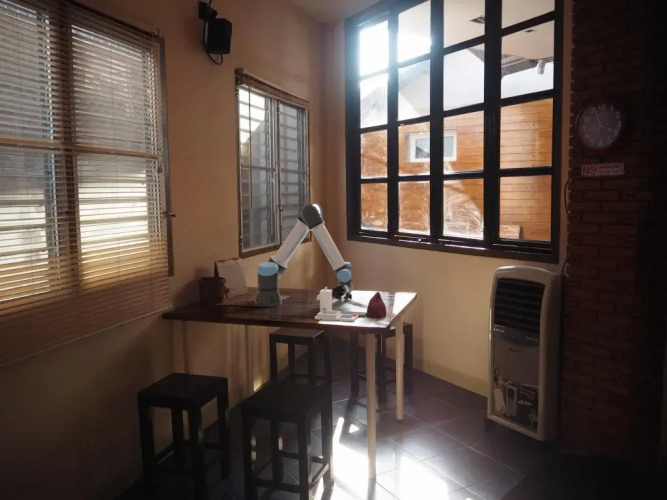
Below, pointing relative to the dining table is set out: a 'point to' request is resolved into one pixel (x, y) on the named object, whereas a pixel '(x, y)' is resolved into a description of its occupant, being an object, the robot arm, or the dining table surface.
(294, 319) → the dining table surface
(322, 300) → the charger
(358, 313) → the phone
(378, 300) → the vegetable
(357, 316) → the white base tray
